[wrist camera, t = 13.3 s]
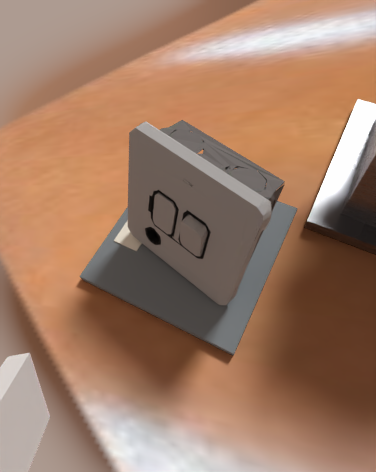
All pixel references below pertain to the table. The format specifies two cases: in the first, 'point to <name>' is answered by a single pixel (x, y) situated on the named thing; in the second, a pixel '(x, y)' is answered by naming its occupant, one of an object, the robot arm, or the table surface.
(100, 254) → the pad
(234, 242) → the electrical switch
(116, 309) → the table surface
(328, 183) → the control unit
